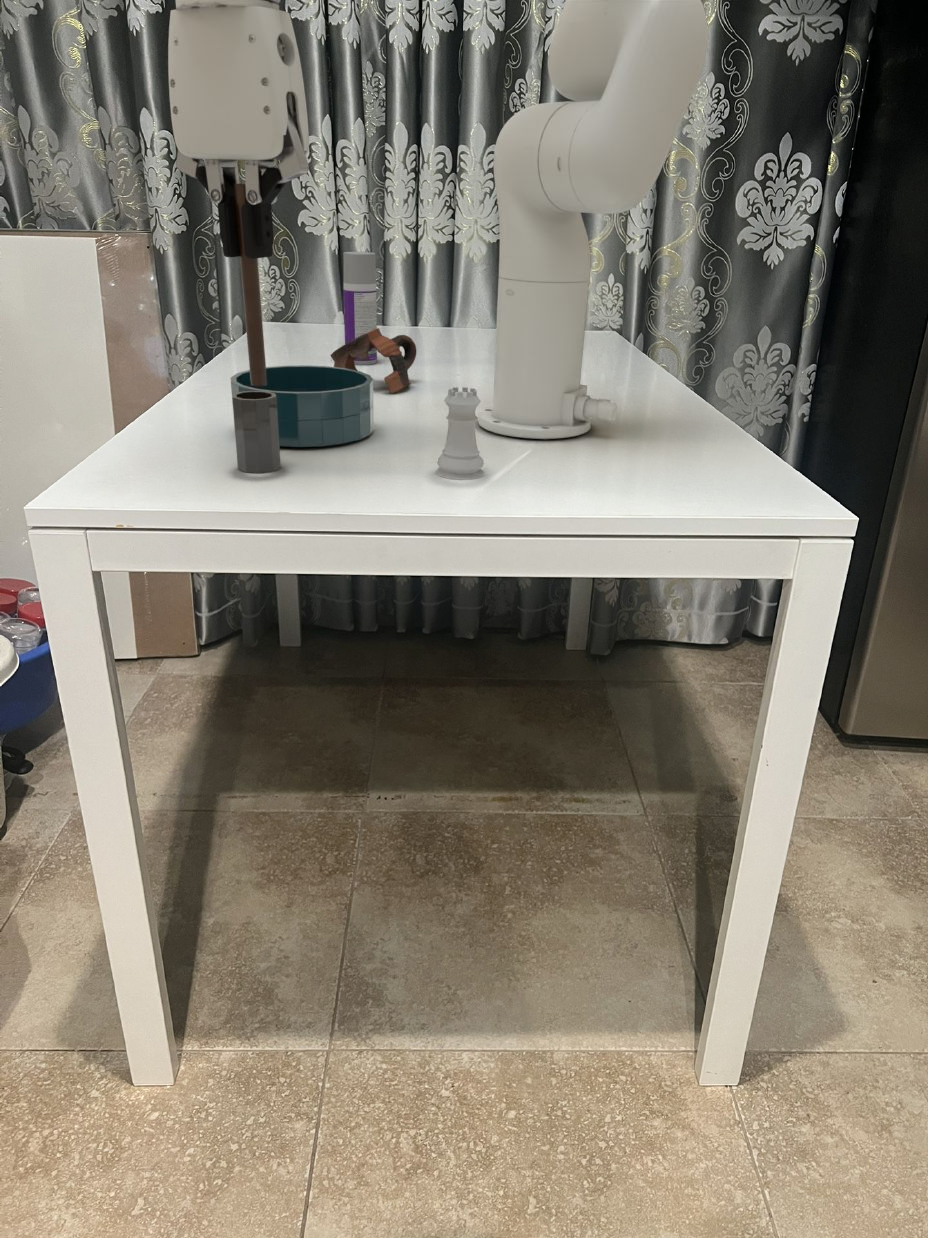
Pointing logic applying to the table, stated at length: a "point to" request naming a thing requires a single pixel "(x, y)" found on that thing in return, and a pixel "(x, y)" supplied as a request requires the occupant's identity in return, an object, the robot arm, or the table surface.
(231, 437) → the table surface
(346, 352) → the brown twisted loop sculpture
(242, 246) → the stick
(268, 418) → the utensil cup
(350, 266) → the container
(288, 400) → the bowl
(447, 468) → the rook chess piece
